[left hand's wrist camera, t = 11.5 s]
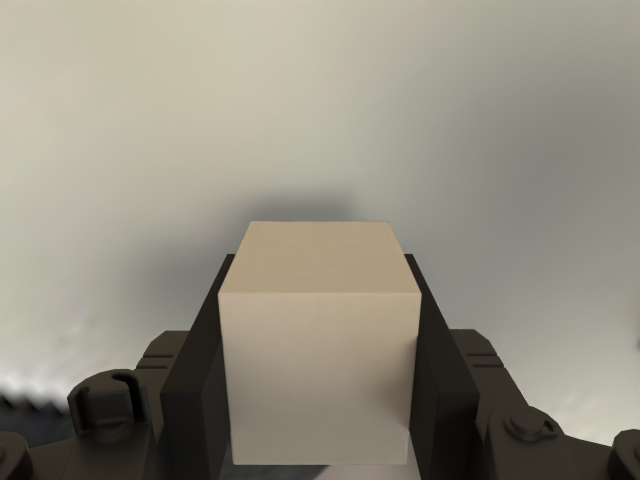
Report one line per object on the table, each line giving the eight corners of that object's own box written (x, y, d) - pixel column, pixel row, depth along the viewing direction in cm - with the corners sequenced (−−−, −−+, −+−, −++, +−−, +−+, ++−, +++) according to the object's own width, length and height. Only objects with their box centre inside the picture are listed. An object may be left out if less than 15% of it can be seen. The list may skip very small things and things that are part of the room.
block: (389, 220, 14) (422, 293, 10) (382, 351, 16) (406, 465, 11) (250, 220, 14) (216, 293, 10) (257, 351, 16) (232, 465, 11)
